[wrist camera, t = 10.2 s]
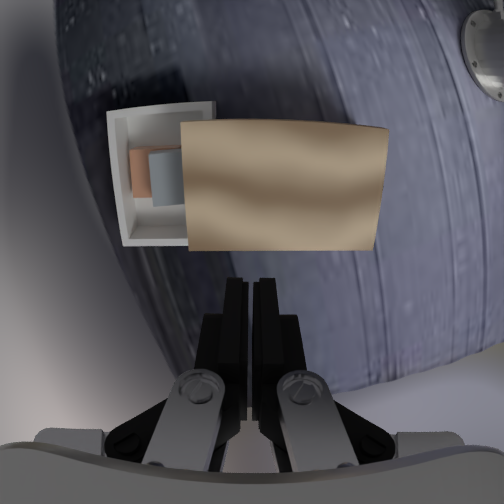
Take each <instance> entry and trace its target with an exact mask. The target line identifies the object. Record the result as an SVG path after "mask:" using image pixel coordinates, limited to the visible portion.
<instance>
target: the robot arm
mask: <svg viewBox="0 0 504 504" xmlns="http://www.w3.org/2000/svg"><path fill="white" fill-rule="evenodd" d="M503 2H504V0H503V1H502V0H493V3H494V7H495V10H493V12H492V11H490V10H478V11H475V12H472V13H471V14H469V15H468V16H467V18H466V19H465V21H464V23H463V26H462V31H461V46H462V52H463V56H464V59H465V63H466V65H467V68H468V70H469V72H470V74H471V76H472V78H473V80H474V81H475V83H476V84H477V85H478V87H479V88H480V89H481V90H482V91H483V92H484V93H485V94H486V95H487V96H489V97H490V98H492V99H494V100H496V101H500V102H504V12H503ZM248 289H249V282H243V278H233V277H227V283H226V291H225V300H224V309H223V314H210V313H205V314H204V317H203V322H202V328H201V333H200V338H199V344H198V350H197V355H196V361H195V367H194V370H189V371H187V372H185V373H183V374H182V375H180V376H179V377H178V378H177V379H176V381H175V383H174V385H173V387H172V390H171V392H170V394H169V397H168V398H167V399H165V400H163V401H162V402H160V403H158V404H157V405H155V406H153V407H152V408H150V409H148V410H146V411H145V412H143V413H141V414H139V415H138V416H136V417H134V418H132V419H131V420H129V421H127V422H125V423H123V424H121V425H120V426H118V427H116V428H115V429H113V430H112V431H111V432H103V430H102V429H65V428H46V429H43V430H41V431H40V432H39V433H38V434H37V435H36V436H35V439H34V441H33V442H14V443H8V444H4V445H1V446H0V504H504V452H502V451H501V450H499V449H496V448H493V447H488V446H480V445H464V442H463V439H462V438H461V437H460V436H459V435H457V434H456V433H454V432H448V431H447V432H397V434H396V435H391V434H389V433H387V432H386V431H385V430H383V429H381V428H380V427H378V426H376V425H375V424H373V423H371V422H369V421H368V420H366V419H364V418H362V417H361V416H359V415H357V414H355V413H354V412H352V411H351V410H349V409H347V408H346V407H344V406H342V405H341V404H339V403H338V402H336V401H334V400H333V397H332V395H331V393H330V390H329V388H328V385H327V383H326V382H325V380H324V379H323V378H322V377H321V376H319V375H318V374H316V373H314V372H311V371H307V368H306V362H305V356H304V350H303V344H302V338H301V333H300V327H299V321H298V317H297V315H279V307H278V299H277V290H276V281H275V278H260V279H259V282H254V283H253V324H252V420H253V421H257V420H258V421H259V429H260V432H261V433H262V434H263V435H264V436H266V437H267V438H268V439H270V446H271V451H272V455H273V460H274V464H275V468H276V473H222V471H223V467H224V463H225V459H226V454H227V450H228V446H229V439H230V438H232V437H233V436H235V435H236V434H237V433H238V432H239V431H240V420H247V367H248Z"/></svg>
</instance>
